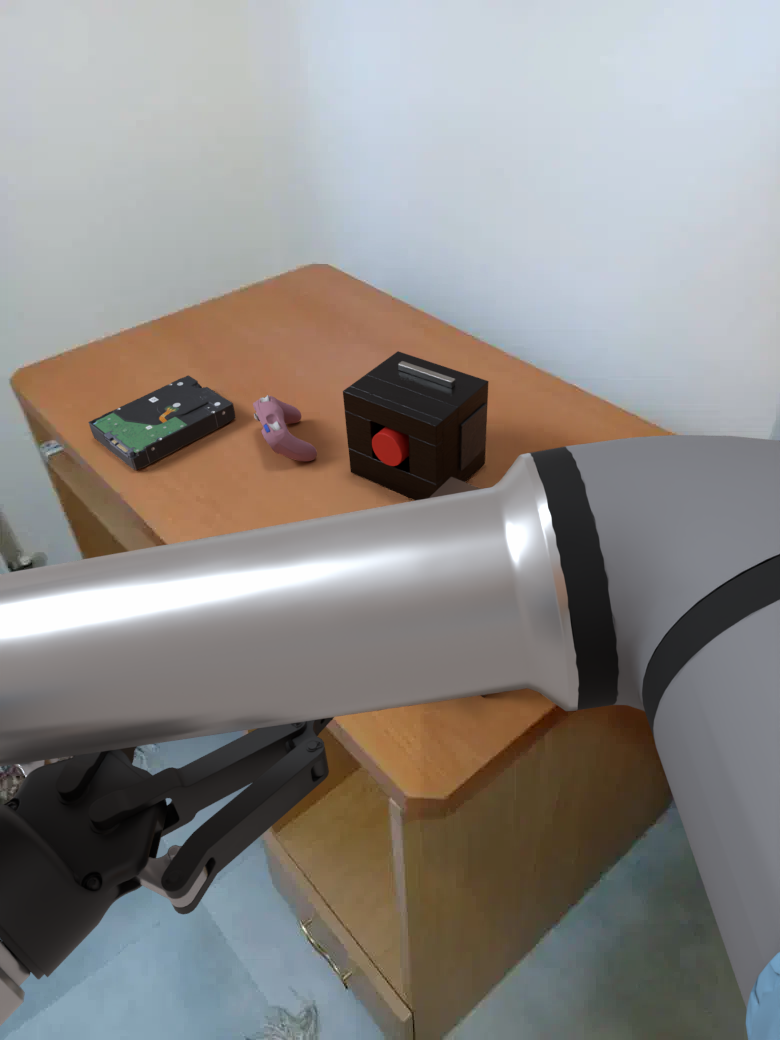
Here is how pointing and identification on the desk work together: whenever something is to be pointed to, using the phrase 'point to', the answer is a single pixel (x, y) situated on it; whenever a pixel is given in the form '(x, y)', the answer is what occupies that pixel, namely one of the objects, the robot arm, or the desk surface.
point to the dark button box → (417, 424)
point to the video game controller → (282, 428)
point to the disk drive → (162, 422)
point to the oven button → (391, 446)
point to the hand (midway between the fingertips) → (313, 610)
